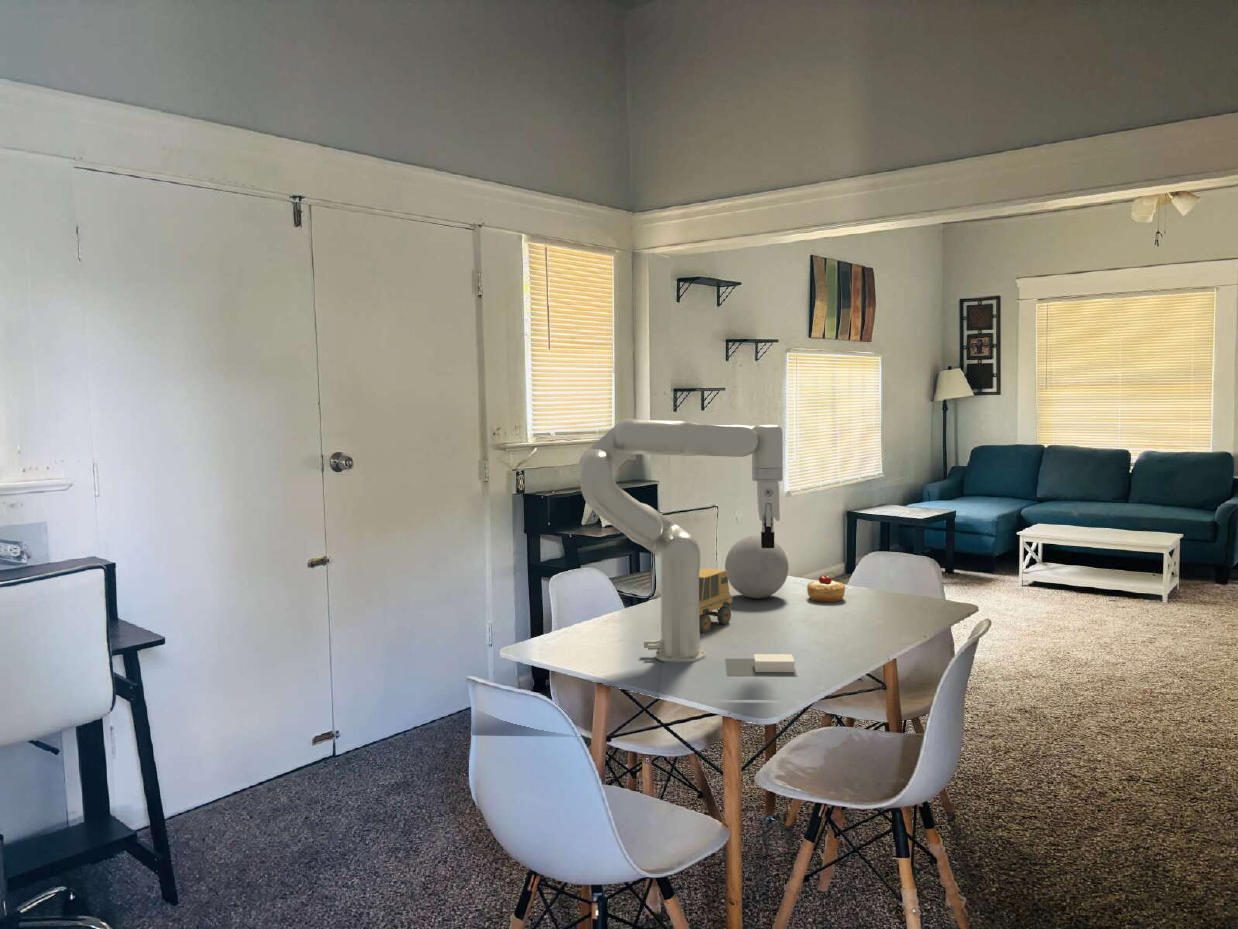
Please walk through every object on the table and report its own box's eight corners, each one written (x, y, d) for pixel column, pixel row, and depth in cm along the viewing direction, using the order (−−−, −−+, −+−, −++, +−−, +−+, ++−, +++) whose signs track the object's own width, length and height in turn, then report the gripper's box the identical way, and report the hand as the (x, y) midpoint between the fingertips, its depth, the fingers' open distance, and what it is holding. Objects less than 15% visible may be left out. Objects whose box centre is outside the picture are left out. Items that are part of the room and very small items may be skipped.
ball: (793, 604, 287) (792, 540, 286) (728, 605, 288) (727, 541, 286) (783, 590, 307) (783, 530, 305) (722, 591, 308) (722, 531, 306)
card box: (753, 665, 222) (755, 672, 216) (753, 654, 222) (755, 661, 216) (791, 665, 221) (794, 672, 215) (791, 654, 221) (794, 661, 215)
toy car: (668, 630, 258) (668, 577, 257) (704, 616, 274) (704, 566, 273) (700, 635, 252) (699, 581, 251) (735, 621, 267) (735, 570, 266)
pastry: (803, 597, 299) (802, 570, 298) (839, 595, 299) (838, 568, 299) (812, 604, 287) (812, 576, 286) (850, 602, 287) (849, 574, 287)
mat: (727, 678, 214) (727, 676, 214) (725, 661, 228) (725, 658, 228) (797, 679, 213) (797, 676, 212) (791, 661, 226) (791, 659, 226)
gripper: (784, 477, 223) (784, 553, 224) (780, 471, 238) (781, 543, 239) (753, 477, 224) (753, 552, 225) (751, 472, 238) (751, 543, 240)
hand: (767, 547), depth 232 cm, fingers closed
